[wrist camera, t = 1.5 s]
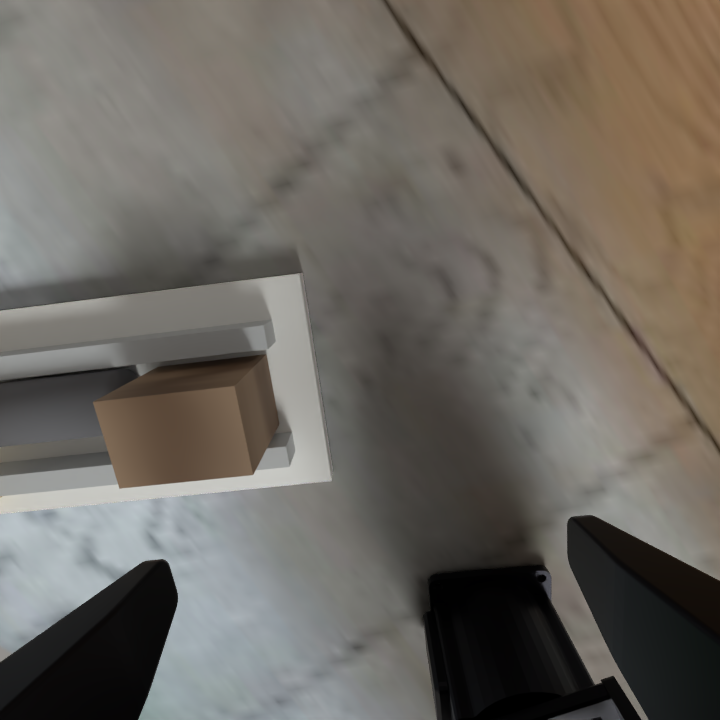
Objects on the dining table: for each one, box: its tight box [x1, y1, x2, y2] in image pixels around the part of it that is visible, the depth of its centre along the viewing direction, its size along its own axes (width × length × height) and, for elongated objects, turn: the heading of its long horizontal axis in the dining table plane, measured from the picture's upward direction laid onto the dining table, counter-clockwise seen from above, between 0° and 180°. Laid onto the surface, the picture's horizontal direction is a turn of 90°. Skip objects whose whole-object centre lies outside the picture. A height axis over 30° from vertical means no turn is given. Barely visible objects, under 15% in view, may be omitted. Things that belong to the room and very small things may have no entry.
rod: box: [0, 368, 138, 447], centre depth 17 cm, size 7×3×3 cm, turn 97°
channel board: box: [0, 273, 333, 514], centre depth 17 cm, size 22×10×5 cm, turn 97°
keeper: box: [93, 354, 279, 489], centre depth 16 cm, size 5×3×4 cm
